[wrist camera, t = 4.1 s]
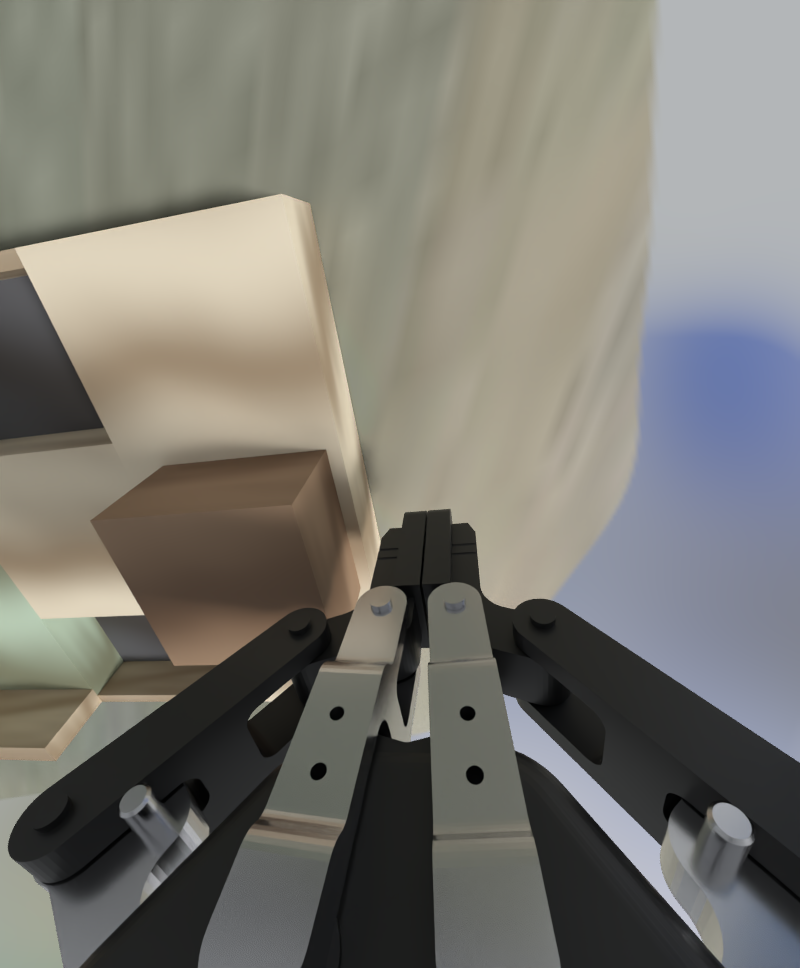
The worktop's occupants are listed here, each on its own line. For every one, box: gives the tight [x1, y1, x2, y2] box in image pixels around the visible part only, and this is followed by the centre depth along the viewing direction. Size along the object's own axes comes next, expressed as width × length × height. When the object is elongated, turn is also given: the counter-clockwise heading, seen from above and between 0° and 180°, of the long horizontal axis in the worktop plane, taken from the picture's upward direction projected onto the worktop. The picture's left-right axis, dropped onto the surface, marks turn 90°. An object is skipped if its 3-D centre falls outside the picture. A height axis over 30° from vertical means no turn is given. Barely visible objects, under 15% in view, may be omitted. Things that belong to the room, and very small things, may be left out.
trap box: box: [0, 194, 381, 761], centre depth 16 cm, size 20×27×8 cm
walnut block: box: [90, 450, 361, 666], centre depth 14 cm, size 6×6×4 cm
